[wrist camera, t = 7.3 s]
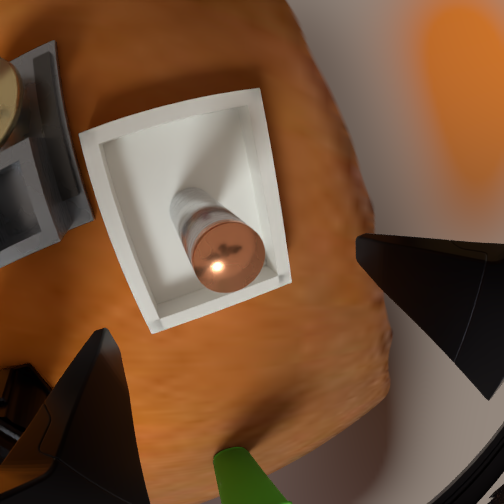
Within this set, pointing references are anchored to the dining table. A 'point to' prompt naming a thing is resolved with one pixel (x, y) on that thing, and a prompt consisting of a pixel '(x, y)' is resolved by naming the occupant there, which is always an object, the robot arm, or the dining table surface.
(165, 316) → the tray
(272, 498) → the cup
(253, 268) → the pin
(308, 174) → the dining table surface
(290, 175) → the dining table surface
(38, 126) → the plate
